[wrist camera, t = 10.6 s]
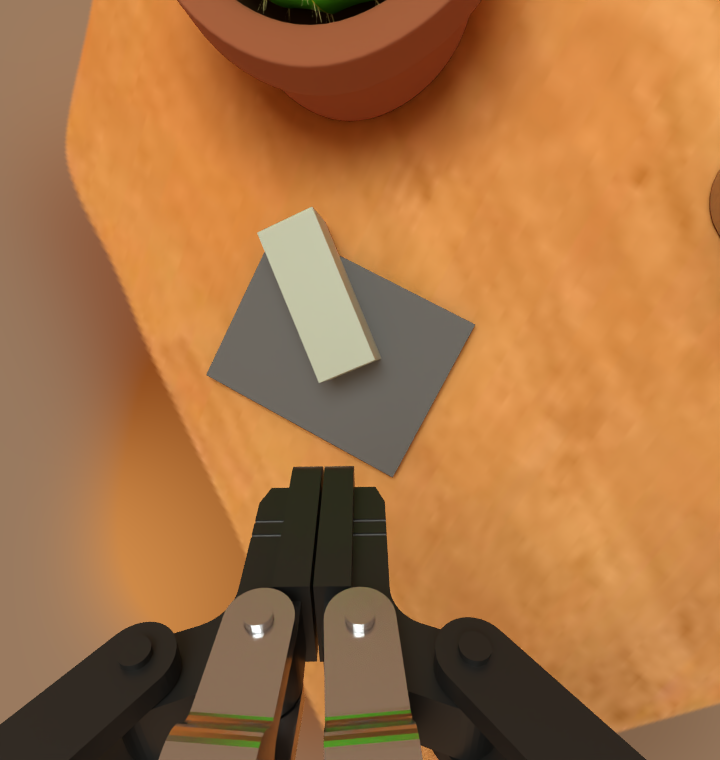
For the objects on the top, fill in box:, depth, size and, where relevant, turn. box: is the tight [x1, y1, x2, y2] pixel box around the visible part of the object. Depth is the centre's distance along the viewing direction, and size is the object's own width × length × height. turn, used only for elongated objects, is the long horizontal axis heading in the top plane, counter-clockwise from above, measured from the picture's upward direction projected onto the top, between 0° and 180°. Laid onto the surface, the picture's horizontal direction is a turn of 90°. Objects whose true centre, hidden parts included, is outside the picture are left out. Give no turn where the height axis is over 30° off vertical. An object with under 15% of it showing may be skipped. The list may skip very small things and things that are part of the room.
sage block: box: [258, 207, 381, 383], centre depth 40 cm, size 4×4×12 cm
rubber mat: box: [207, 252, 475, 477], centre depth 43 cm, size 18×14×1 cm
